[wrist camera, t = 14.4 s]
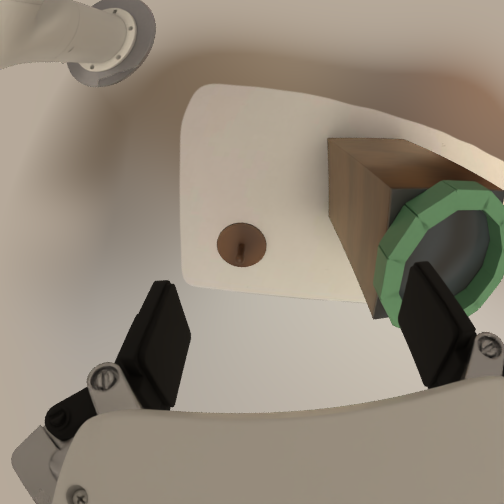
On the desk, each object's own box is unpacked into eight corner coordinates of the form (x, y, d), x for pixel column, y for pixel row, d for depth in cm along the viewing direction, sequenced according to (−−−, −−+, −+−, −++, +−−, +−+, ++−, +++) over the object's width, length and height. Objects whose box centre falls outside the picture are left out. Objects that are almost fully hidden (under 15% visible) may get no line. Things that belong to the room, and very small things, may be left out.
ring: (383, 179, 20) (395, 189, 18) (511, 183, 19) (526, 192, 17) (364, 327, 28) (369, 343, 26) (476, 307, 27) (485, 319, 25)
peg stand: (221, 267, 56) (217, 285, 51) (213, 225, 52) (208, 240, 47) (268, 264, 56) (268, 282, 51) (264, 221, 51) (263, 236, 46)
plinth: (328, 216, 50) (373, 319, 28) (327, 138, 43) (392, 188, 21) (399, 213, 49) (473, 302, 27) (404, 139, 42) (505, 191, 20)
